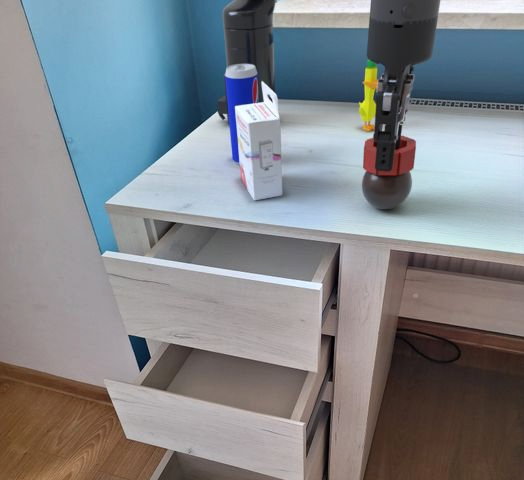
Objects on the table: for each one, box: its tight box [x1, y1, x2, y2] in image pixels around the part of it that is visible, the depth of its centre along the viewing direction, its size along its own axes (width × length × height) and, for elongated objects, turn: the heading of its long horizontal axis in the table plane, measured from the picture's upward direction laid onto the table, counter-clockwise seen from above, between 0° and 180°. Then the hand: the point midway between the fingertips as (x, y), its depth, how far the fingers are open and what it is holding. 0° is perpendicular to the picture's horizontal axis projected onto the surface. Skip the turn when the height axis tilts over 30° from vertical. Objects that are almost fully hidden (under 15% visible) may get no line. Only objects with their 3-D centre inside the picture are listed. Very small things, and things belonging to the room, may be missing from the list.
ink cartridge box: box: [235, 81, 283, 201], centre depth 78 cm, size 9×5×15 cm, turn 17°
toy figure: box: [358, 59, 379, 132], centre depth 97 cm, size 7×4×12 cm, turn 37°
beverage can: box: [225, 64, 259, 166], centre depth 87 cm, size 5×5×15 cm
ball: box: [361, 170, 413, 210], centre depth 74 cm, size 7×7×7 cm
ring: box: [362, 135, 417, 175], centre depth 71 cm, size 7×7×3 cm
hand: (387, 160), depth 69 cm, fingers open, 5 cm apart
